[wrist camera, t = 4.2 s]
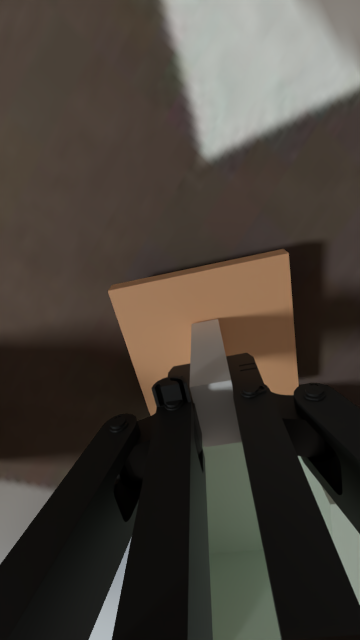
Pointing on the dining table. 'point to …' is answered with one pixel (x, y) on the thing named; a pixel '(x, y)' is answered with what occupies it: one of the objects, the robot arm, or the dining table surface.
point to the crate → (254, 547)
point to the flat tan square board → (212, 318)
